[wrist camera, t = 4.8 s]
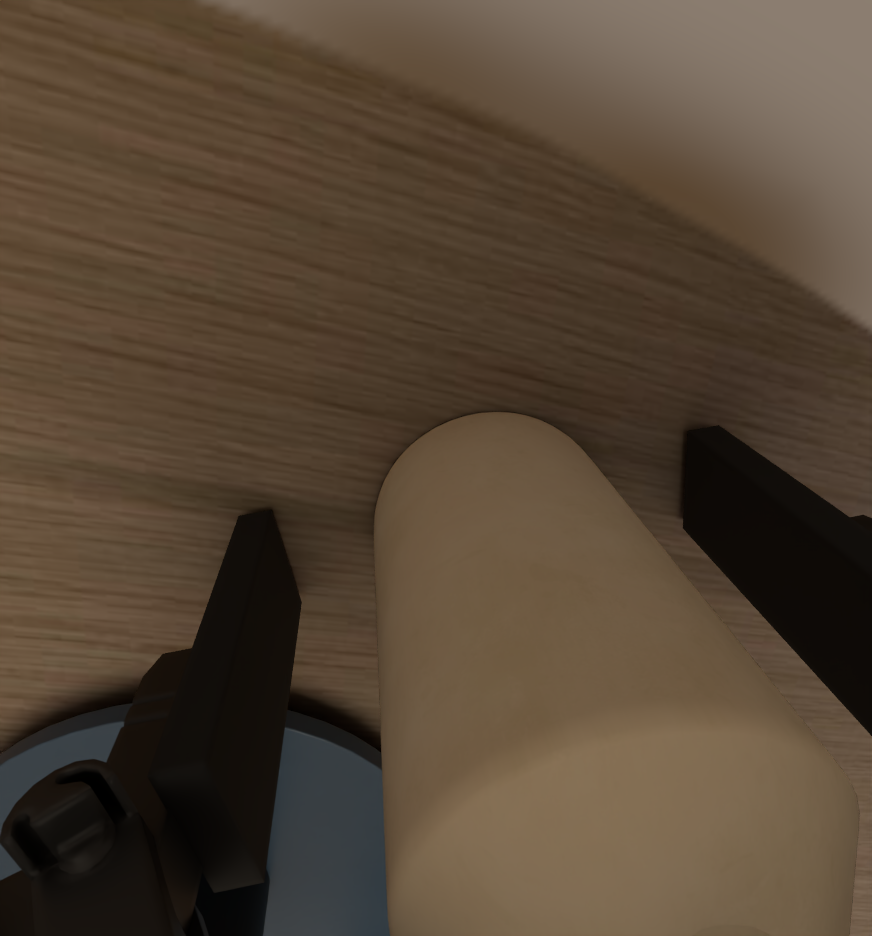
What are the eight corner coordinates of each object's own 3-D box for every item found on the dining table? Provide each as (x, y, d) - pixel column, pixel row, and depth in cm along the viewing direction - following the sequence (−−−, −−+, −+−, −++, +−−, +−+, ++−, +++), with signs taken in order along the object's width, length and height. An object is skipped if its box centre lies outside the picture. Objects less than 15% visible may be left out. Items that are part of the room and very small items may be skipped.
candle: (614, 406, 14) (1103, 854, 5) (580, 600, 16) (858, 1138, 7) (370, 408, 13) (395, 932, 4) (373, 610, 15) (393, 1216, 6)
